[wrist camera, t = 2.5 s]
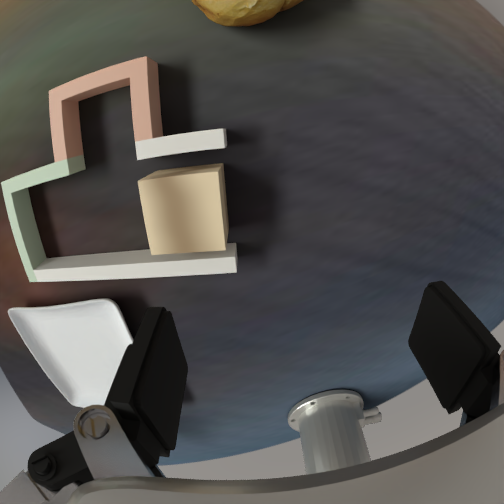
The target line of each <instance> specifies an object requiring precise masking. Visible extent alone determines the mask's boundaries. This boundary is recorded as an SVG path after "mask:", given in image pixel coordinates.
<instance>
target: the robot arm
mask: <svg viewBox="0 0 504 504" xmlns="http://www.w3.org/2000/svg"><path fill="white" fill-rule="evenodd" d="M408 343H409V347H410V349H411V351H412V352H413V354H414V356H415V357H416V359H417V361H418V363H419V364H420V366H421V368H422V370H423V371H424V373H425V375H426V377H427V379H428V380H429V382H430V384H431V386H432V388H433V389H434V391H435V393H436V395H437V397H438V399H439V401H440V403H441V405H442V406H443V408H446V410H447V412H448V413H449V414H451V413H453V412H455V411H457V410H459V409H460V408H461V407H462V408H463V413H462V418H461V423H460V427H459V428H457V429H455V430H453V431H451V432H449V433H447V434H444V435H442V436H440V437H438V438H435V439H433V440H430V441H428V442H426V443H423V444H421V445H418V446H416V447H413V448H410V449H407V450H405V451H402V452H399V453H396V454H393V455H390V456H387V457H383V458H380V459H377V460H373V461H371V459H370V455H369V452H368V448H367V445H366V442H365V438H364V435H363V432H362V427H364V426H365V425H367V424H373V423H377V422H381V419H382V416H381V413H380V412H379V410H378V408H377V407H374V408H370V409H367V410H364V409H363V406H364V403H363V399H362V397H361V395H360V394H359V393H357V392H355V391H351V390H343V389H341V390H331V391H325V392H321V393H318V394H315V395H312V396H310V397H308V398H306V399H304V400H302V401H300V402H299V403H298V404H296V405H295V406H294V407H293V408H292V409H291V410H290V412H289V414H288V423H289V425H290V427H291V428H292V429H294V430H296V431H299V432H300V437H301V444H302V451H303V457H304V464H305V471H306V475H301V476H293V477H284V478H273V479H258V480H194V479H179V478H166V477H165V476H164V475H163V473H162V471H161V470H160V469H159V467H158V466H157V464H158V462H159V456H163V457H169V455H170V450H174V449H175V446H176V440H177V433H178V427H179V420H180V414H181V408H182V402H183V396H184V390H185V384H186V378H187V372H188V366H187V362H186V359H185V356H184V353H183V350H182V346H181V343H180V340H179V337H178V334H177V330H176V327H175V323H174V320H173V317H172V313H171V312H170V311H166V309H165V308H164V307H149V308H148V309H147V311H146V313H145V315H144V317H143V320H142V322H141V324H140V327H139V329H138V331H137V334H136V336H135V338H134V341H133V343H132V344H129V345H128V346H127V348H126V350H125V353H124V355H123V357H122V360H121V362H120V365H119V367H118V370H117V372H116V375H115V377H114V380H113V382H112V385H111V388H110V390H109V393H108V396H107V398H106V401H105V404H104V406H103V405H90V406H87V407H85V408H84V409H82V410H81V411H80V412H79V413H78V414H77V416H76V418H75V420H74V424H73V429H74V431H72V432H70V433H68V434H66V435H65V436H63V437H61V438H59V439H57V440H55V441H53V442H51V443H49V444H47V445H45V446H43V447H41V448H39V449H37V450H36V451H34V452H33V453H32V454H31V456H30V458H29V460H28V471H27V472H26V471H25V470H22V471H21V472H20V473H19V474H18V475H17V476H16V477H15V478H14V479H13V480H12V481H11V482H10V483H9V484H8V485H7V486H6V487H5V488H4V489H3V490H2V491H1V492H0V504H504V350H503V351H502V352H501V354H500V355H499V354H498V351H499V349H500V347H501V345H500V344H499V343H498V342H497V340H496V339H495V338H494V337H493V335H492V334H491V333H490V332H489V331H488V329H487V328H486V327H485V326H484V325H483V323H482V322H481V321H480V320H479V319H478V318H477V317H476V315H475V314H474V313H473V312H472V311H471V310H470V309H469V308H468V307H467V305H466V304H465V303H464V302H463V301H462V300H461V299H460V298H459V297H458V296H457V295H456V294H455V293H454V292H453V291H452V290H451V288H450V287H449V286H448V285H447V284H446V283H445V282H443V281H437V282H431V283H429V284H428V286H427V287H426V288H425V290H424V293H423V297H422V300H421V304H420V307H419V310H418V313H417V316H416V319H415V322H414V325H413V328H412V331H411V334H410V337H409V341H408Z"/></svg>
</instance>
